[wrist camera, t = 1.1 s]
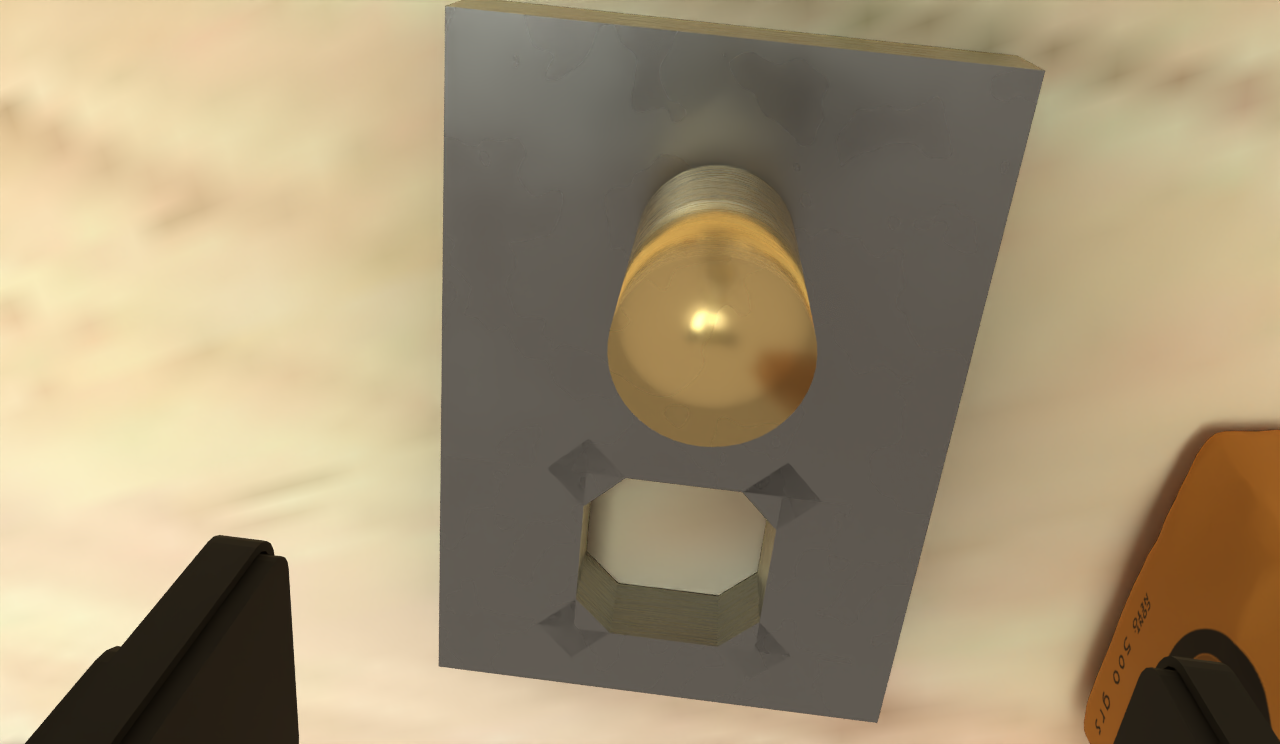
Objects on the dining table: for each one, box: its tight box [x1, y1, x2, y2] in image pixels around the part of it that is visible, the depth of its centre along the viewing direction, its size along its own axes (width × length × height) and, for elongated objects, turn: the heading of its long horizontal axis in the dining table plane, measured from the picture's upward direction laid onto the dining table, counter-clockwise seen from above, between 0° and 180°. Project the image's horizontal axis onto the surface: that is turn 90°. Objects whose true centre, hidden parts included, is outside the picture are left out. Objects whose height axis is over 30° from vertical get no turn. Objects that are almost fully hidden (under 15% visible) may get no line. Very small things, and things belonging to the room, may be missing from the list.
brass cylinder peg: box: [607, 165, 817, 447], centre depth 22 cm, size 4×4×7 cm
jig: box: [439, 0, 1045, 723], centre depth 29 cm, size 20×14×2 cm
